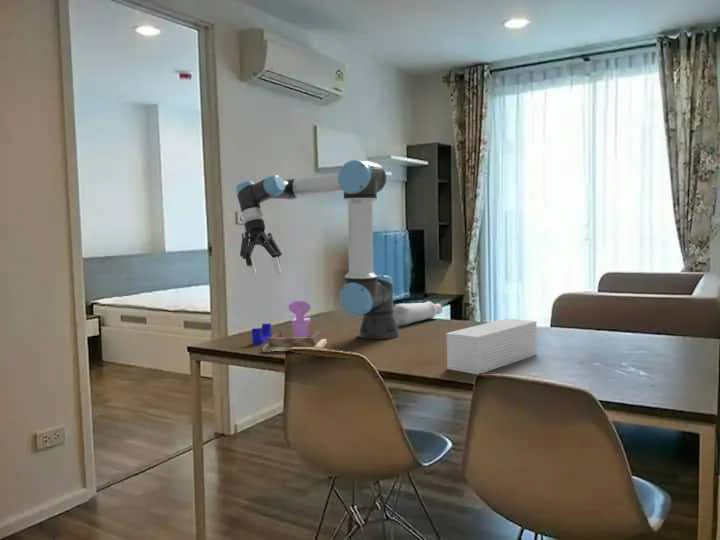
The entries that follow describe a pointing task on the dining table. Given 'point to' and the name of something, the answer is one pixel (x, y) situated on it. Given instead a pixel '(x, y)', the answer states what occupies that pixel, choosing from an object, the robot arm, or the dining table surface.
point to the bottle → (415, 312)
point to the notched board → (293, 342)
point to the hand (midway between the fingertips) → (266, 274)
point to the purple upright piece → (300, 318)
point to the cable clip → (261, 334)
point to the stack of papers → (491, 345)
